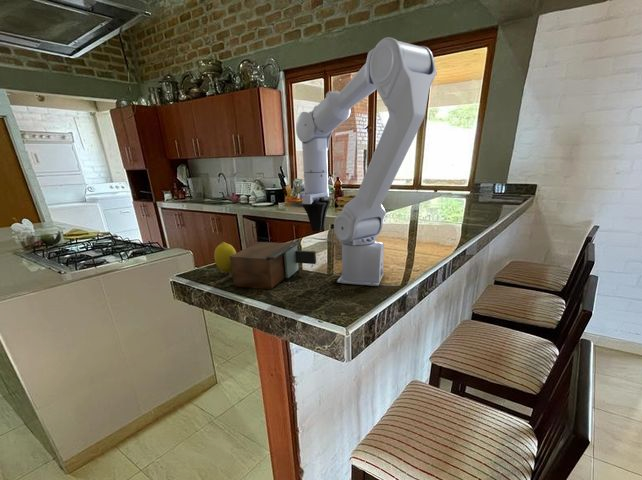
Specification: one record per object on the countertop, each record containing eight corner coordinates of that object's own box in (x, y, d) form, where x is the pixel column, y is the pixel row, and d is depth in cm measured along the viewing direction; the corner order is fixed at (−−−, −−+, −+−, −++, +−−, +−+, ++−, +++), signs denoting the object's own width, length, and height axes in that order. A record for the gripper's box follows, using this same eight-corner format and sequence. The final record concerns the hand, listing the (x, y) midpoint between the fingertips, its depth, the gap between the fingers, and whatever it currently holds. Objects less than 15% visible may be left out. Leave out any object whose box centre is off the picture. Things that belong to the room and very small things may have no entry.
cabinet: (300, 270, 86) (298, 242, 82) (277, 290, 74) (274, 257, 70) (262, 268, 89) (259, 240, 85) (234, 286, 77) (229, 254, 73)
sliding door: (317, 270, 84) (316, 245, 81) (307, 280, 78) (306, 253, 75) (296, 269, 86) (295, 244, 83) (285, 278, 80) (283, 251, 77)
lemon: (242, 269, 88) (238, 239, 84) (235, 276, 83) (230, 244, 79) (222, 269, 88) (216, 239, 85) (213, 276, 83) (208, 244, 80)
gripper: (310, 171, 86) (312, 224, 92) (288, 174, 74) (292, 235, 80) (336, 170, 84) (336, 225, 90) (318, 173, 72) (320, 236, 78)
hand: (317, 230), depth 85 cm, fingers closed
